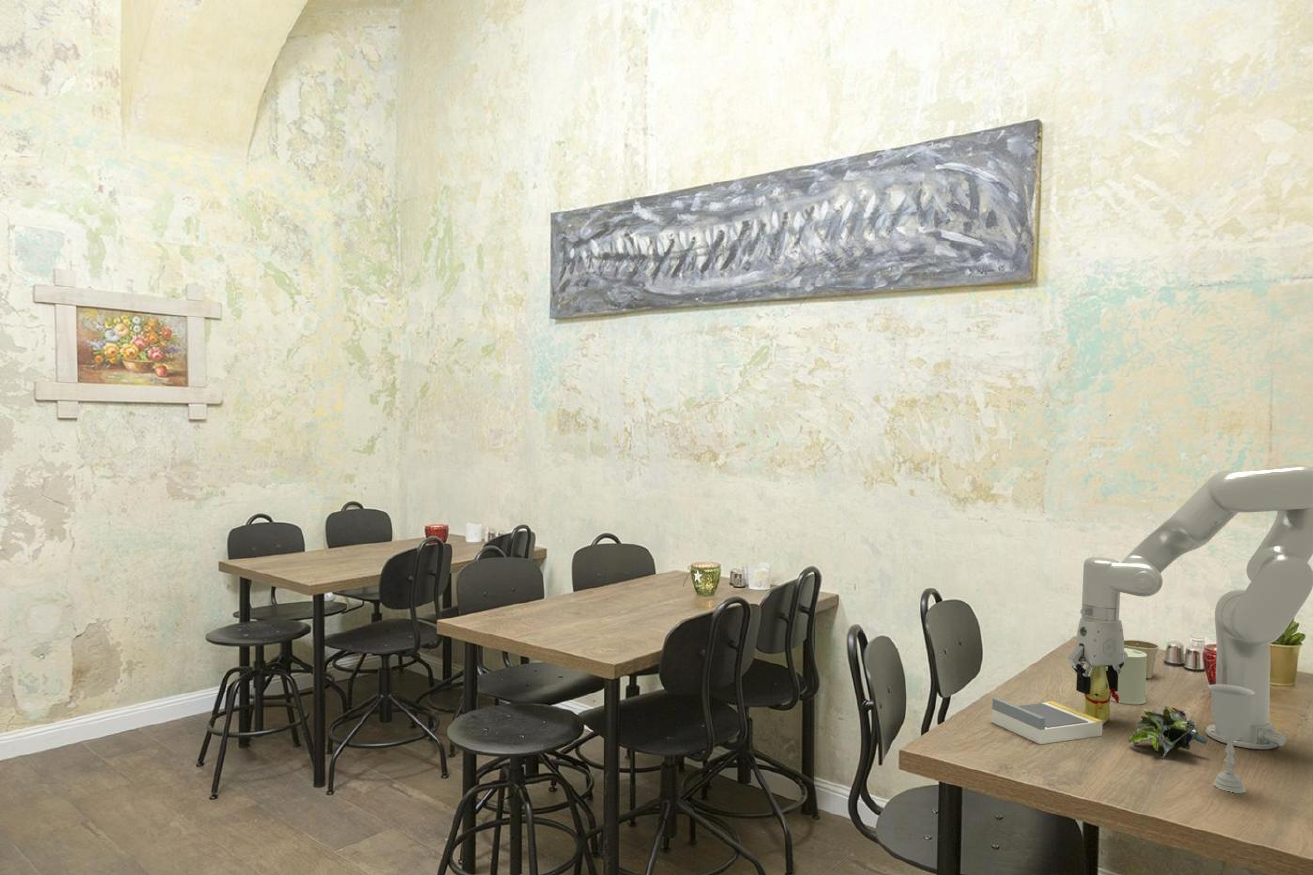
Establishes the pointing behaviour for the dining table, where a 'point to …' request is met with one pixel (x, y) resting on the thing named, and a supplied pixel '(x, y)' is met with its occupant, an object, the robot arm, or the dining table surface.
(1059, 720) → the dock
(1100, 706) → the chocolate bunny
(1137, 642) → the flower pot
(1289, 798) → the dining table surface
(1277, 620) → the robot arm
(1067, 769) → the dining table surface
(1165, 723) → the leafy plant
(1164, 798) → the dining table surface
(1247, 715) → the chalice
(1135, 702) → the can
